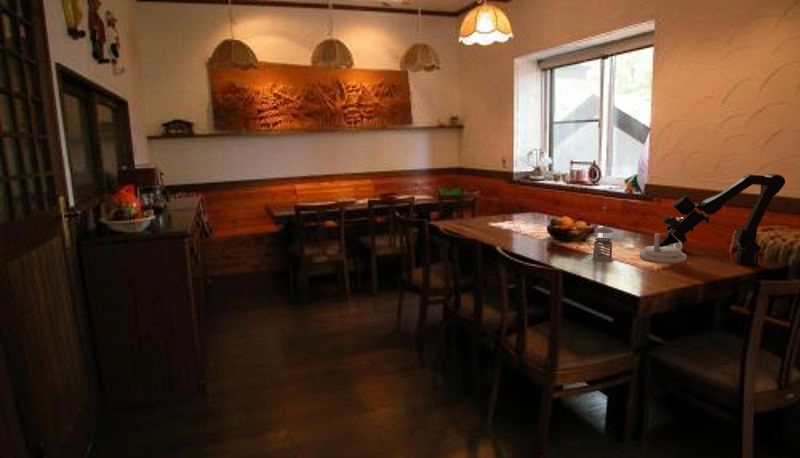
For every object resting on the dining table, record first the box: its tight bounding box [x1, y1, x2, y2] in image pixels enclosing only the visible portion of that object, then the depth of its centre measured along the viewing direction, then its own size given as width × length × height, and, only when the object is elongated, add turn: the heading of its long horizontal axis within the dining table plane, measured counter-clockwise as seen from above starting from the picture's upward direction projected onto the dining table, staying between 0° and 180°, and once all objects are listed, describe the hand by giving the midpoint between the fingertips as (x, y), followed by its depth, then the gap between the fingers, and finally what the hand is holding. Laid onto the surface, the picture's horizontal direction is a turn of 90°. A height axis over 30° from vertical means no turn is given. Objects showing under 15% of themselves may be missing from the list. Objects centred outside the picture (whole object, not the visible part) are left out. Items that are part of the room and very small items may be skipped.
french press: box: [587, 206, 615, 263], centre depth 224 cm, size 10×12×25 cm
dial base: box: [639, 249, 687, 264], centre depth 224 cm, size 19×19×2 cm
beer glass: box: [668, 216, 685, 250], centre depth 241 cm, size 7×7×15 cm
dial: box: [644, 233, 683, 257], centre depth 223 cm, size 15×15×10 cm
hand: (660, 246), depth 218 cm, fingers closed
